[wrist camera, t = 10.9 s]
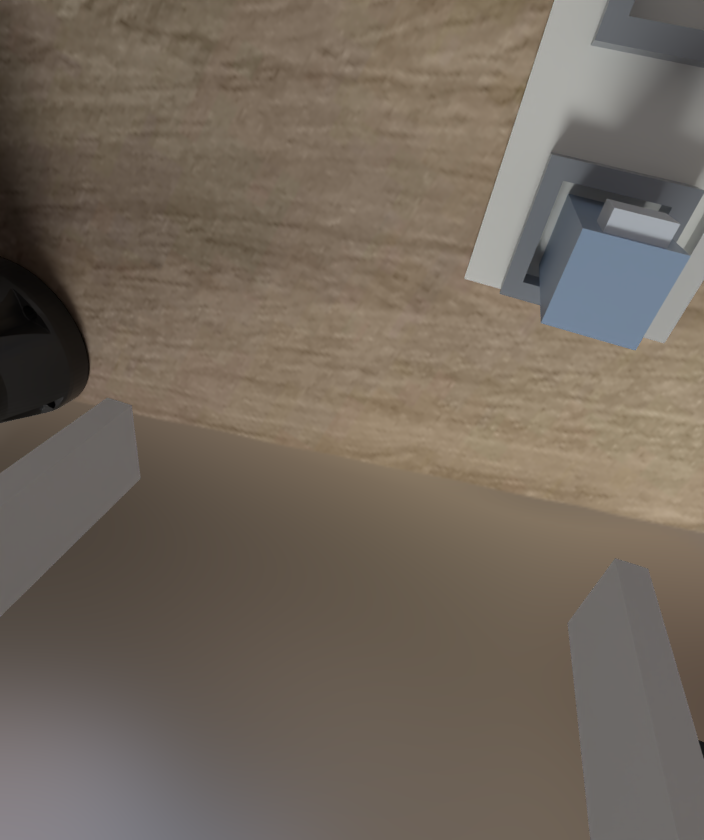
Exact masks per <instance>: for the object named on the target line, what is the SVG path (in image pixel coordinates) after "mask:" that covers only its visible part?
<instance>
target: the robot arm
mask: <svg viewBox="0 0 704 840" xmlns="http://www.w3.org/2000/svg"><path fill="white" fill-rule="evenodd" d="M87 378H88V358H87V353H86V349H85V345H84V342H83V340H82V337H81V335H80V332H79V330H78V328H77V326H76V324H75V322H74V321H73V319H72V317H71V316H70V314H69V312H68V311H67V310H66V308H65V307H64V305H63V304H62V303H61V301H60V300H59V299H58V298H57V297H56V295H55V294H54V293H53V292H52V291H51V290H50V289H49V288H48V287H47V286H46V285H45V284H44V283H43V282H42V281H40V280H39V279H38V278H37V277H36V276H34V275H33V274H32V273H30V272H29V271H27V270H26V269H24V268H23V267H21V266H19V265H18V264H16V263H14V262H11V261H9V260H7V259H4V258H1V257H0V423H3V422H7V421H12V420H16V419H20V418H24V417H29V416H33V415H38V414H41V413H46V412H50V411H53V410H56V409H58V408H60V407H62V406H63V405H65V404H66V403H68V402H70V401H71V400H73V399H75V398H76V397H77V396H78V395H80V393H81V392H82V391H83V389H84V387H85V385H86V382H87ZM139 479H140V470H139V463H138V454H137V445H136V437H135V429H134V421H133V412H132V405H129V404H126V403H123V402H120V401H117V400H113V399H110V398H106V399H105V400H103V401H102V402H100V403H99V404H98V405H96V406H95V407H93V408H92V409H90V410H89V411H88V412H86V413H85V414H83V415H82V416H81V417H79V418H78V419H76V420H75V421H73V422H72V423H71V424H69V425H68V426H66V427H65V428H64V429H62V430H61V431H59V432H58V433H56V434H55V435H54V436H52V437H51V438H50V439H48V440H47V441H45V442H44V443H42V444H41V445H39V446H38V447H37V448H35V449H34V450H32V451H31V452H30V453H28V454H27V455H25V456H24V457H23V458H21V459H20V460H18V461H17V462H15V463H14V464H13V465H11V466H10V467H8V468H7V469H5V470H4V471H3V472H1V473H0V616H1V615H2V614H3V613H4V612H5V611H6V610H7V609H8V608H9V607H10V606H11V605H12V604H13V603H15V601H16V600H18V599H19V598H20V597H21V596H22V595H23V594H24V593H25V592H26V591H27V590H28V589H29V588H30V587H31V586H32V585H33V584H34V583H35V582H36V581H37V580H38V579H39V578H40V577H41V576H42V575H43V574H44V573H45V572H46V571H47V570H48V569H49V568H50V567H51V566H52V565H53V564H54V563H55V562H56V561H57V560H58V559H59V558H60V557H61V556H62V555H63V554H64V553H65V552H66V551H67V550H68V549H69V548H70V547H71V546H72V545H73V544H74V543H75V542H76V541H77V540H79V538H80V537H82V536H83V535H84V534H85V533H86V531H88V530H89V529H90V527H92V526H93V525H94V524H95V523H96V522H97V521H98V520H99V519H100V518H101V517H102V516H103V515H104V514H105V513H106V512H107V511H108V510H109V509H110V508H111V507H112V506H113V505H114V504H115V503H116V502H117V501H118V500H119V499H120V498H121V497H122V496H123V495H124V494H125V493H126V492H127V491H128V490H129V489H130V488H131V487H132V486H133V485H134V484H135V483H136V482H137V481H138V480H139ZM568 631H569V640H570V650H571V659H572V669H573V678H574V688H575V697H576V707H577V716H578V726H579V736H580V744H581V755H582V764H583V773H584V783H585V792H586V802H587V812H588V821H589V831H590V840H704V742H702V741H699V740H698V738H697V734H696V731H695V727H694V724H693V720H692V717H691V714H690V710H689V707H688V703H687V700H686V697H685V693H684V690H683V686H682V683H681V679H680V676H679V673H678V669H677V666H676V662H675V659H674V656H673V652H672V649H671V646H670V642H669V638H668V635H667V632H666V628H665V625H664V621H663V618H662V615H661V611H660V608H659V604H658V601H657V597H656V594H655V591H654V587H653V584H652V580H651V577H650V574H649V570H648V568H644V567H641V566H638V565H635V564H632V563H629V562H626V561H622V560H619V559H616V558H615V559H614V561H613V562H612V563H611V565H610V566H609V567H608V569H607V570H606V571H605V573H604V574H603V576H602V577H601V578H600V580H599V581H598V582H597V584H596V585H595V586H594V588H593V589H592V591H591V592H590V593H589V595H588V596H587V597H586V599H585V600H584V602H583V603H582V604H581V606H580V607H579V608H578V610H577V611H576V612H575V614H574V615H573V617H572V618H571V619H570V621H569V622H568Z"/></svg>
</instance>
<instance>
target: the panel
mask: <svg viewBox="0 0 704 840" xmlns="http://www.w3.org/2000/svg"><path fill="white" fill-rule="evenodd" d="M568 194H572V195H576V196H580V197H584V198H588V199H592V200H596V201H600V202H604V203H605V201H606V199H610V200H614V201H618V202H622V203H626V204H630V205H634V206H639V207H643V208H647V209H651V210H655V211H659V212H663V213H666V214H668V215H669V216H670V217H672V218H673V219H674V220H676V221H677V222H678V223H680V226H679V228H678V229H677V231H676V233H675V235H674V237H673V238H672V239H673V240H674V241H675V242H676V243H677V244H678V245H679V246H680V247H682V248H683V249H684V250H685V251H686V252H687V253H688V254H689V255H690V256H691V257H690V258H689V260H688V262H687V263H686V265H685V267H684V269H683V270H682V272H681V274H680V275H679V277H678V279H677V280H676V282H675V284H674V286H673V287H672V289H671V291H670V292H669V294H668V296H667V298H666V299H665V301H664V303H663V304H662V306H661V308H660V309H659V311H658V313H657V315H656V316H655V318H654V320H653V321H652V323H651V325H650V326H649V328H648V330H647V332H646V333H645V335H644V338H647V339H651V340H654V341H658V342H661V343H665V341H666V340H667V338H668V336H669V335H670V333H671V332H672V330H673V328H674V327H675V325H676V324H677V322H678V320H679V319H680V317H681V316H682V314H683V312H684V311H685V309H686V307H687V306H688V304H689V303H690V301H691V299H692V298H693V296H694V295H695V293H696V291H697V290H698V288H699V286H700V285H701V283H702V282H703V280H704V0H554V3H553V6H552V10H551V13H550V16H549V19H548V22H547V25H546V28H545V31H544V34H543V37H542V40H541V43H540V47H539V50H538V53H537V56H536V59H535V62H534V65H533V68H532V71H531V74H530V77H529V80H528V84H527V87H526V90H525V93H524V96H523V99H522V102H521V105H520V108H519V111H518V114H517V118H516V121H515V124H514V127H513V130H512V133H511V136H510V139H509V142H508V145H507V148H506V151H505V155H504V158H503V161H502V164H501V167H500V170H499V173H498V176H497V179H496V182H495V185H494V188H493V192H492V195H491V198H490V201H489V204H488V207H487V210H486V213H485V216H484V219H483V222H482V225H481V229H480V232H479V235H478V238H477V241H476V244H475V247H474V250H473V253H472V256H471V259H470V262H469V266H468V269H467V272H466V275H465V278H464V279H467V280H471V281H474V282H478V283H481V284H485V285H489V286H492V287H496V288H499V289H500V294H502V295H506V296H509V297H513V298H516V299H520V300H523V301H527V302H530V303H534V304H537V305H540V281H539V263H540V261H541V259H542V256H543V254H544V251H545V249H546V246H547V244H548V241H549V239H550V237H551V234H552V232H553V229H554V227H555V224H556V222H557V219H558V217H559V215H560V212H561V210H562V207H563V205H564V202H565V200H566V197H567V195H568Z"/></svg>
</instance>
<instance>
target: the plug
mask: <svg viewBox="0 0 704 840" xmlns="http://www.w3.org/2000/svg"><path fill="white" fill-rule="evenodd" d="M679 226H680V223H678V222H677V221H676V220H674V219H673V218H672V217H670V216H669V215H668V214H666V213H663V212H659V211H655V210H651V209H647V208H643V207H639V206H634V205H630V204H626V203H622V202H618V201H614V200H610V199H606V201H605V203H604V202H600V201H596V200H592V199H588V198H584V197H580V196H576V195H572V194H568V195H567V197H566V200H565V202H564V205H563V207H562V210H561V212H560V215H559V217H558V219H557V222H556V224H555V227H554V229H553V232H552V234H551V237H550V239H549V241H548V244H547V246H546V249H545V251H544V254H543V256H542V259H541V261H540V263H539V281H540V310H541V323H543V324H546V325H550V326H553V327H556V328H560V329H563V330H567V331H570V332H574V333H577V334H581V335H584V336H587V337H591V338H594V339H598V340H601V341H605V342H608V343H612V344H615V345H618V346H622V347H625V348H629V349H632V350H636V349H637V347H638V345H639V343H640V342H641V340H642V338H643V337H644V335H645V333H646V332H647V330H648V328H649V326H650V325H651V323H652V321H653V320H654V318H655V316H656V315H657V313H658V311H659V309H660V308H661V306H662V304H663V303H664V301H665V299H666V298H667V296H668V294H669V292H670V291H671V289H672V287H673V286H674V284H675V282H676V280H677V279H678V277H679V275H680V274H681V272H682V270H683V269H684V267H685V265H686V263H687V262H688V260H689V258H690V257H691V256H690V255H689V254H688V253H687V252H686V251H685V250H684V249H683V248H682V247H680V246H679V245H678V244H677V243H676V242H675V241H674V240H673V239H672V238H673V237H674V235H675V233H676V231H677V229H678V228H679Z"/></svg>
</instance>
